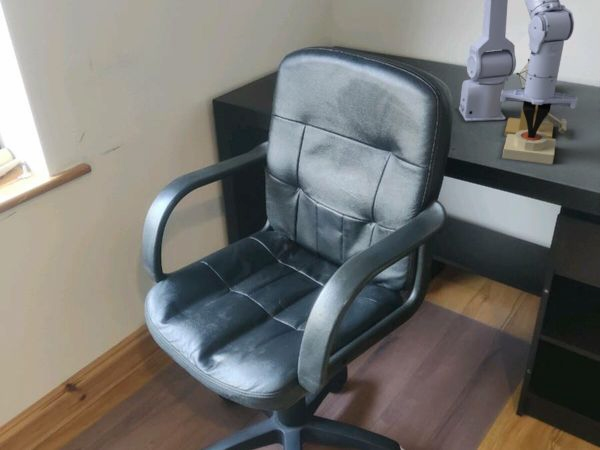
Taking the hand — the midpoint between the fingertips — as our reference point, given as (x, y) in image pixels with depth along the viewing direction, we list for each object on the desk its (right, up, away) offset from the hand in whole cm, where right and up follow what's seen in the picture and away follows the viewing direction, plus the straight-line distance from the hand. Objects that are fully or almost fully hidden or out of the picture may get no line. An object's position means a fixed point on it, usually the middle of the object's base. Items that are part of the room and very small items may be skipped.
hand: (531, 136), depth 130 cm
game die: (+12, +16, +32) cm, 38 cm away
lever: (+6, +5, +9) cm, 12 cm away
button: (0, -1, +1) cm, 2 cm away
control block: (0, -3, +2) cm, 4 cm away
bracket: (+4, +3, +11) cm, 12 cm away
